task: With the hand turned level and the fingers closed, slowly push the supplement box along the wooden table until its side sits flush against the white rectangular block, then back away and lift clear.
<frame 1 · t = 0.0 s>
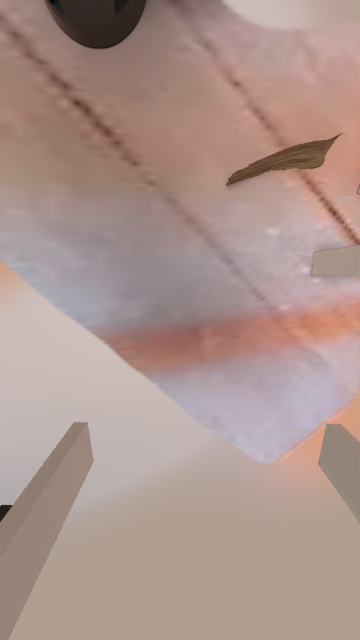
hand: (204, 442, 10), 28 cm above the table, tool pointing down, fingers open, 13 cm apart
brown bark piece: (271, 174, 32), on the table
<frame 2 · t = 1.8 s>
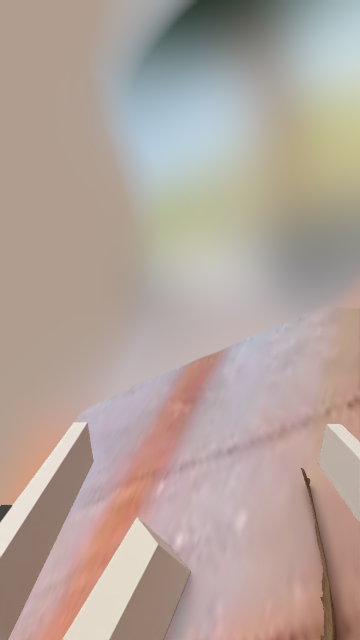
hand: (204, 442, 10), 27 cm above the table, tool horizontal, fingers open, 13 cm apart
brown bark piece: (316, 567, 21), on the table
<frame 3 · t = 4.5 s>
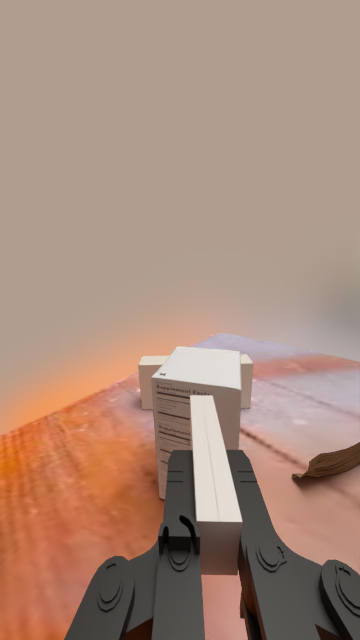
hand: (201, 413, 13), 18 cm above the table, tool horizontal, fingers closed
brown bark piece: (339, 468, 27), on the table
white rectangular block: (195, 402, 40), on the table
supplement box: (201, 473, 26), on the table
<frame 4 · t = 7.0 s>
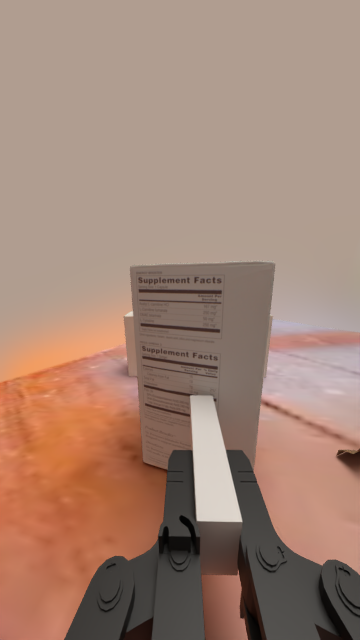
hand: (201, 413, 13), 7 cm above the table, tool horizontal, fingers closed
white rectangular block: (195, 370, 32), on the table
supplement box: (202, 435, 19), on the table, touching gripper
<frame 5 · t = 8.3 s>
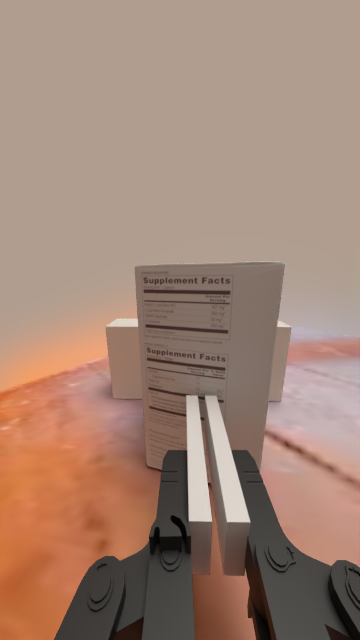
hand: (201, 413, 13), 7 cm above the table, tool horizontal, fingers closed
white rectangular block: (195, 390, 27), on the table
supplement box: (204, 436, 19), on the table, touching white rectangular block, gripper
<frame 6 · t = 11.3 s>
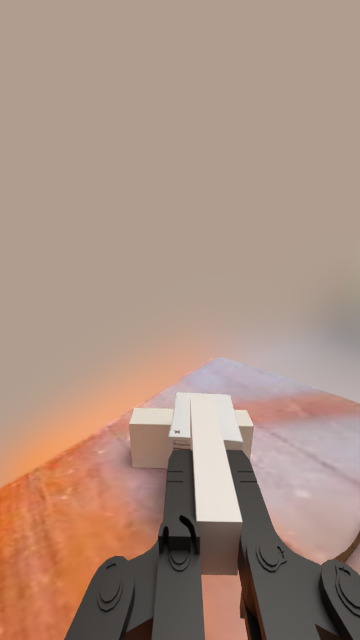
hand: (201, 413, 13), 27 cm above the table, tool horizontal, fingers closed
brown bark piece: (335, 557, 25), on the table
white rectangular block: (189, 458, 38), on the table
supplement box: (200, 500, 31), on the table, touching white rectangular block
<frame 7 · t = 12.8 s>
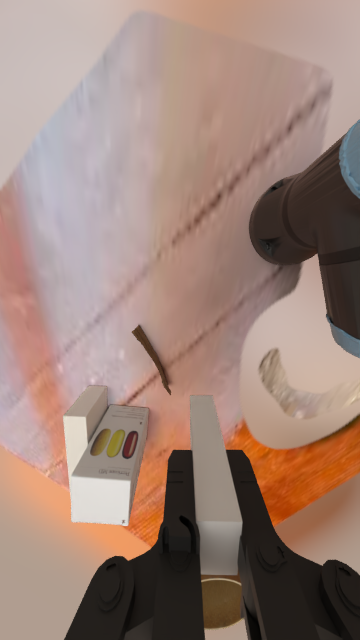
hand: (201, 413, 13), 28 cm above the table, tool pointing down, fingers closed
brown bark piece: (153, 355, 42), on the table
plant pot: (202, 505, 51), on the table
white rectangular block: (99, 427, 45), on the table
supplement box: (128, 421, 45), on the table, touching white rectangular block
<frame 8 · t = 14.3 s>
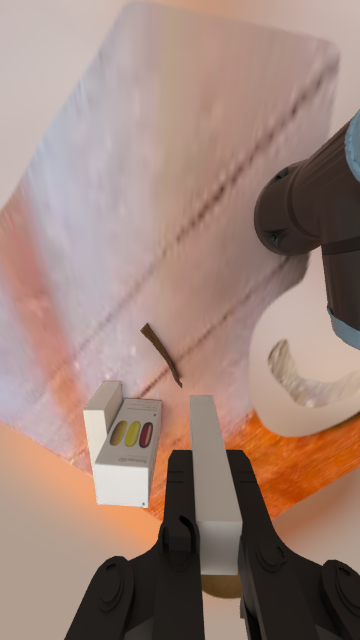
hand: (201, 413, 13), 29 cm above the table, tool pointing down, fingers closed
brown bark piece: (163, 351, 44), on the table
plant pot: (216, 490, 54), on the table
white rectangular block: (116, 419, 48), on the table
supplement box: (143, 413, 48), on the table, touching white rectangular block
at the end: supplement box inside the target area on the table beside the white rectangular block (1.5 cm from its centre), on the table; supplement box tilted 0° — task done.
